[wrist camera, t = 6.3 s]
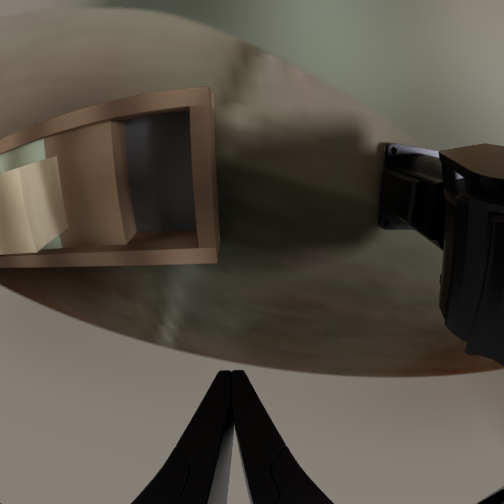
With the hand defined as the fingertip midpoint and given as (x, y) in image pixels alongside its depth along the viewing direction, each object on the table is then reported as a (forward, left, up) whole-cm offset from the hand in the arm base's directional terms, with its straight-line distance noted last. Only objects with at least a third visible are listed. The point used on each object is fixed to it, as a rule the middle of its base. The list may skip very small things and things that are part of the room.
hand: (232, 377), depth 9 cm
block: (+14, -5, -10) cm, 18 cm away
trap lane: (+12, -5, -12) cm, 18 cm away
